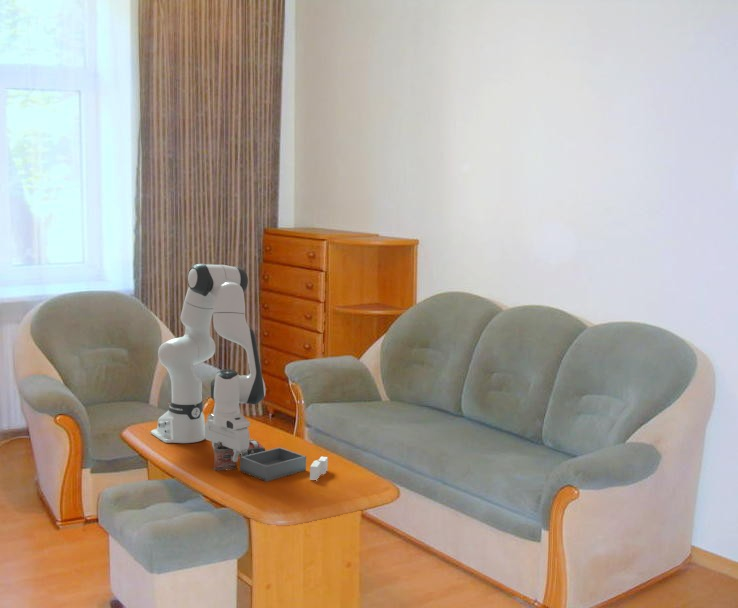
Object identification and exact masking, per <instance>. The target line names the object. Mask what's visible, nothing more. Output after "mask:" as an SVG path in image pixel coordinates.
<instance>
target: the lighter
mask: <svg viewBox="0 0 738 608" xmlns="http://www.w3.org/2000/svg"><path fill="white" fill-rule="evenodd" d="M217 445H218V447H216V448H214V449H213V454H214V456H213V457H214V458H213V460H214V461H213V471H214V470H226V469H233V470H235V469H234V468H237V469H238V466H237V462H233V461H231V456H233V455H234V452H233V449H231V448H228V447H225V446H222V442H217Z"/></svg>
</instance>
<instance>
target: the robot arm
mask: <svg viewBox="0 0 738 608" xmlns="http://www.w3.org/2000/svg"><path fill="white" fill-rule="evenodd" d="M186 280H187V286H188V288H187V290H186V295H185V298H184V301H183V304H182V310H181V313H180V316H179V318H180V322H181V323H182V325H183V326H184V327H185V328H184V329H185V331H184V335H183V336H180V337H176V338H175V337H174V338H171V339H169V340H166V341H165V342H164V343H161V345H159V347H158V351H157V357H158V360H159V363H160V364H161V365H162V366H163V367H164V368H166V370H167V372H168V374H169V378H170V383H171V401H167V406H168V410H167V411H166V412H164V414H162V415H161V416H159V418H158V419H157V428H154V429H152V430H150V434H151V435H153V436H154V437H156V438H157V439H158V440H160V441H162V442H163V443H166V444H168V443H169V444H171V443H175V444H176V443H177V444H191V443H198V442H201V441H204V440H206V441H209V442H211V445H212V448H213V450H214V448H216V447H218V445H217V442H222V446H225V447H228V448H231V449H233V452H234V455H233V456H231V461H233V462H236V463H237V462H238V461H239V457H240V453H241V452H242V451H246V450H248V448H249V440H250V438H251V437H250V430H249V427H250V424H251V423H250V421H249V420H248V419H247V418H246V417H245V416H244V415H243V414H242V413H241V408H240V404H248V405H258V404H260V403H261V402H262V401H263V400H264V399H265V396H266V392H267V391H266V383H265V381H264V378H263V374H262V365H261V361H260V354H259V347H258V344H257V338H256V337H257V336H256V334H255V332H254V330H253V329H252V328H250V327H249V325H248V323H247V320H246V302H245V294H244V293H245V291H246V290H247V288H248V284H249V276H248V274H247V272H246V271H245V270H244V269H243V268H241V267H238V266H230V265H226V264H205V263H198V264H193V265H192V266H191V268H189V271H188V272H187V279H186ZM212 321H213V322H212ZM211 323H213V328H214V331H215V332H216V333H217V335H219V336H220V337H221V338H223V339H225V340H228V341H230V342H233V343H235V344H238V345H239V346H241V347H242V348H243V349H244V350H245V352H246V355H247V362H248V369H249V373H248V374H244V375H239V373H238V372H237V371H236V370H235V369H234V370H233V369H229V368H227V369H220V370H218V372H216V374H215V377H214V378H213V379H212V381H210V399H212V401H214V406H213V409H212V410H213V411H212V412H213V413H210V414H208V415H207V416H206V420H205V414H204V412H203V410H204V404H203V403H204V402H203V398H202V395H203V391H202V390H203V382H202V379H201V378H199V377H198V376H197V375H196V373H195V370H194V365H197V364H200V363H205V362H206V361H208V360H209V359H211V358H212V357H213V356H214V355H215V353H216V343H215V340H214V339H213V338H212V336H211Z"/></svg>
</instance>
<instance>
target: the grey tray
mask: <svg viewBox="0 0 738 608" xmlns="http://www.w3.org/2000/svg"><path fill="white" fill-rule="evenodd" d="M239 460H240V461H239V472H240V471H242V472H241V473H243V472H245V473H244V474H246V473H247V474H246V475H248V474H250V475H249V476H251V475H252V476H251V477H253V476H254V477H253V478H256V477H257V478H256V479H258V478H260V479H259V480H261V479H262V480H261V481H263V480H264V481H265V482H271V481H273V479H274V480H276V479H277V480H278V479H280V477H281V478H284V477H288V476H291V475H294V474H293V473H295V474H298V473H297V472H299V473H302V472H305V471H304V470H307V456H306V455H303V454H301V453H298V452H295V451H292V450H289V449H287V448H283V447H279V446H278V447H274V448H271V449H267V450H265V451H262V452H258V453H254V454H250V455H246V456H239ZM301 471H302V472H301ZM290 474H291V475H290ZM287 475H288V476H287ZM264 481H263V482H264Z"/></svg>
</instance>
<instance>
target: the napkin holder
mask: <svg viewBox="0 0 738 608" xmlns="http://www.w3.org/2000/svg"><path fill="white" fill-rule="evenodd" d="M328 458H329V457H328V456H320V457H319V459H317V460H313V462H312V463H311V465H310V467H309V481H310V480H316V481H315V482H317V481H318V480H319V479H318V478H320V477H321V476H322V475H321V474H325V475H326V474H327V472H328V460H329V459H328ZM326 471H327V472H326ZM320 475H321V476H320ZM319 476H320V477H319ZM317 479H318V480H317Z"/></svg>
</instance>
